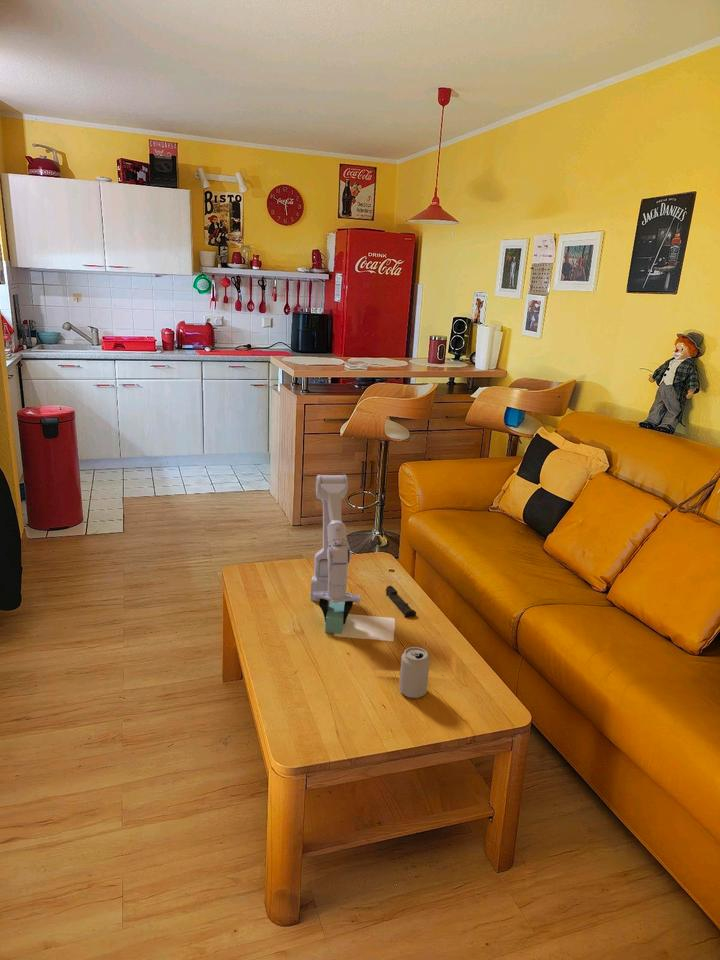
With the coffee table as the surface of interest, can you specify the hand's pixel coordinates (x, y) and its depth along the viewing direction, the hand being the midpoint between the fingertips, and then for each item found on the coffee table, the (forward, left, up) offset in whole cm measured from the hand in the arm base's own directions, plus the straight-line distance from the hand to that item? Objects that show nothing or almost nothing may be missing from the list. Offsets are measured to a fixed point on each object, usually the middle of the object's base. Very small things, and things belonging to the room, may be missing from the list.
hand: (335, 621), depth 205 cm
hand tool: (+19, +17, -3) cm, 25 cm away
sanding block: (0, 0, -1) cm, 1 cm away
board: (+9, 0, -2) cm, 10 cm away
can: (+24, -29, -3) cm, 38 cm away
